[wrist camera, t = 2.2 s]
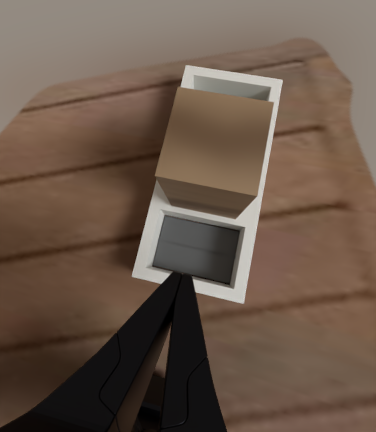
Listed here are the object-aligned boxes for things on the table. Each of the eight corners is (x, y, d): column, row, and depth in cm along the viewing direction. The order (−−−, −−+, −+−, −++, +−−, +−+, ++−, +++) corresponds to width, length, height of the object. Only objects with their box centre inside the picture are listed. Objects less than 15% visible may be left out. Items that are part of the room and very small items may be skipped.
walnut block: (235, 219, 21) (257, 196, 13) (171, 206, 21) (154, 175, 13) (247, 158, 22) (274, 102, 14) (185, 147, 22) (177, 86, 14)
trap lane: (237, 297, 22) (243, 303, 19) (140, 274, 23) (131, 276, 20) (273, 100, 26) (282, 79, 23) (187, 86, 27) (186, 65, 24)
